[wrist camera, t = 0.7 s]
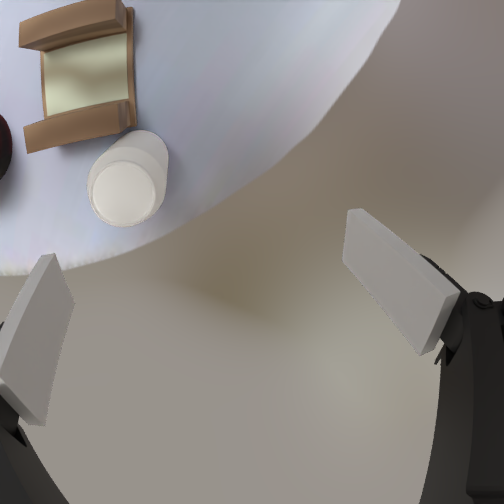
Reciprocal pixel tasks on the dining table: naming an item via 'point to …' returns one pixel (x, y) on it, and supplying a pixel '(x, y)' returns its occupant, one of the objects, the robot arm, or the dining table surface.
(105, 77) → the post bracket
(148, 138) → the beverage can
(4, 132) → the mug
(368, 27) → the dining table surface
